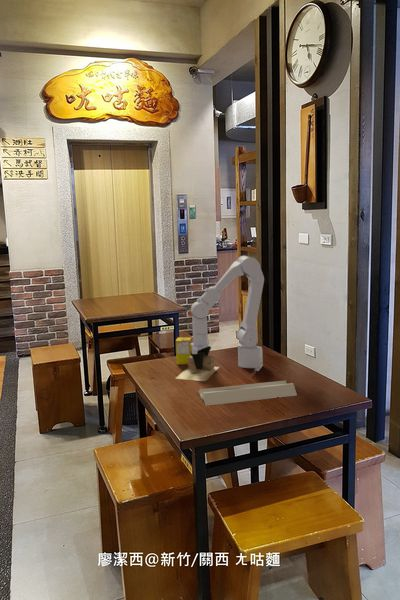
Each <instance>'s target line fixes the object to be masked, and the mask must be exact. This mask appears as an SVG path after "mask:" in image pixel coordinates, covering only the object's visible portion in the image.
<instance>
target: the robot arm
mask: <svg viewBox="0 0 400 600" xmlns="http://www.w3.org/2000/svg"><path fill="white" fill-rule="evenodd" d="M241 276H246V278H247V279H248V280H249V281H250V282H249V286H248V290H247V291H248V292H247V297H246V304H245V307H244V314H243V319H242V321H241V322H240V325H239V328H238V329H237V330H236V333H235V335H236V336H235V337H236V339H237V340H238V344H237V359H238V360H237V363H238V367H239V368H242V369H243V368H245V369H254V370H253V371H254V372H259V371H260V370H261V369H262V367H263V366H264V364H263V363H264V362H263V361H264V360H263V347H262V346H259V345H257V344H258V340H259V338H258V326H257V319H258V315H259V310H260V309H259V308H260V304H261V300H262V299H261V298H262V294H263V288H264V283H265V277H264V273H263V271H262V268H261V264H260V263H259V261H258V260H257V259H256V258H254V257H252V256H251V257H250V256H248V255H240V256H239V257H238V258H237V259H236V260H235V261H234V262H233V263H232V264H231V265H230V266H229V267H228V269H227V270H226V271H225V273H224V274H223V275H222V277H221V278H220V279H219V280H218V281H217V283H215V285H214V286H209V287H205V289H204V291H205V292H204V293H203V294H202V295H201V296H200V298H199V297H198V298H197V299H196V301H195V302H193V303H192V304H191V307H190V309H189V311H190V314H192V317H191V319H192V320H191V323H192V343H191V344H190V346H192V351H191V352H190V354H191V356H192V357H193V360H194V362H195V366H196V369H202V366H203V358H204V355H205V356H209V354H210V351H211V349H212V346H209V345H210V339H208V337H209V336H208V334H209V333H208V321H207V320H208V319H207V318H208V317H207V316H208V315H209V311H210V310H211V309H212V307H214V305H215V304H216V303H217V302H218V301H219V299H220V298H221V297H222V291H223V290H224V289H225V288H226V287H227V286H229V284H230V283H232V281H233V280H235V278H237V277H241Z"/></svg>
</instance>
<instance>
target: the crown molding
mask: <svg viewBox="0 0 400 600" xmlns="http://www.w3.org/2000/svg"><path fill="white" fill-rule="evenodd" d="M296 390H297V389H296V387H295V384H294V383H293V382H290V383H287V380H277V381H276V380H275V381H267V382H266V381H265V382H258V383H249V384H239V385H229V386H220V387H211V388H202V389H198V394H199V396H200V398H201V400H203V402H204V405H205V407H208V406H215V405H216V406H217V405H223V404H234V403H243V402H250V401H251V402H252V401H259V400H269V399H277V397H279V398H287V397H295V396H296V397H297V396H298V394H297V391H296Z"/></svg>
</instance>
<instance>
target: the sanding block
mask: <svg viewBox="0 0 400 600" xmlns="http://www.w3.org/2000/svg"><path fill="white" fill-rule="evenodd" d="M214 367H215V355H208V356H205V355H204V358H203V366H202V369H196V366H195V362H194V360H193V357H192V356H190V357H189V358H188V364H187V368H189V370H192V371H204V372H211V371H212V370H213V369H214Z"/></svg>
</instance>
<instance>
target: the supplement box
mask: <svg viewBox="0 0 400 600" xmlns="http://www.w3.org/2000/svg"><path fill="white" fill-rule="evenodd" d="M191 343H193V337H192V336H183V337H182V336H179V337H177V338H176V339H175V354H176V355H175V357H176V365H188V358H189V357H190V356H191V354H190V352H191V351H192V348H193V346H190V344H191Z"/></svg>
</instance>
